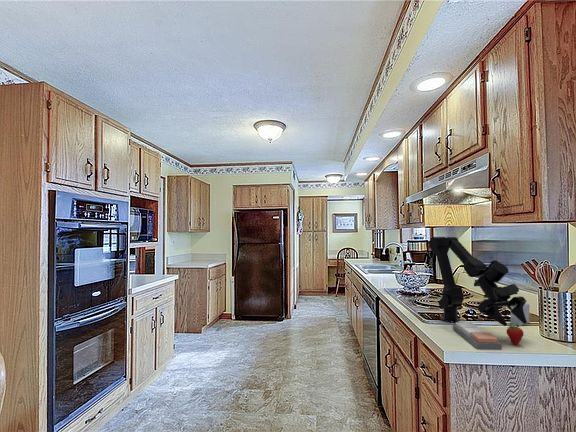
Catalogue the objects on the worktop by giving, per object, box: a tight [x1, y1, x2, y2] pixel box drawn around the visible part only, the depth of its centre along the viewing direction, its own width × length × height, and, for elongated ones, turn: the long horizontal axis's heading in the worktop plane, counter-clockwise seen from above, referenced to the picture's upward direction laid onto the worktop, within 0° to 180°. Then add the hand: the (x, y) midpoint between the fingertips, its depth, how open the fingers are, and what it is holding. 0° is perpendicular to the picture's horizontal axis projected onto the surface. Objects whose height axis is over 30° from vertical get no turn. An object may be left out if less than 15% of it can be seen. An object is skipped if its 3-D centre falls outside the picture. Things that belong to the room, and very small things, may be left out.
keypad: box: [452, 321, 503, 350], centre depth 138 cm, size 22×8×3 cm, turn 175°
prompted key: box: [471, 332, 498, 343], centre depth 131 cm, size 6×6×2 cm
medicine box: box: [509, 302, 530, 327], centre depth 158 cm, size 8×4×9 cm, turn 123°
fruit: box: [505, 322, 525, 346], centre depth 131 cm, size 5×5×8 cm
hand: (516, 324), depth 131 cm, fingers open, 9 cm apart
